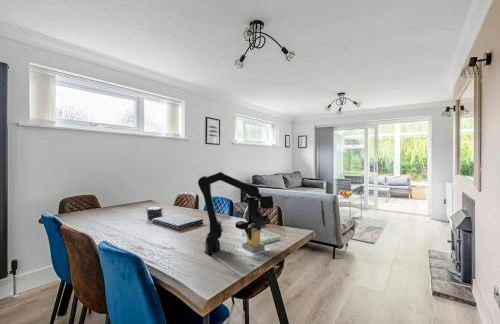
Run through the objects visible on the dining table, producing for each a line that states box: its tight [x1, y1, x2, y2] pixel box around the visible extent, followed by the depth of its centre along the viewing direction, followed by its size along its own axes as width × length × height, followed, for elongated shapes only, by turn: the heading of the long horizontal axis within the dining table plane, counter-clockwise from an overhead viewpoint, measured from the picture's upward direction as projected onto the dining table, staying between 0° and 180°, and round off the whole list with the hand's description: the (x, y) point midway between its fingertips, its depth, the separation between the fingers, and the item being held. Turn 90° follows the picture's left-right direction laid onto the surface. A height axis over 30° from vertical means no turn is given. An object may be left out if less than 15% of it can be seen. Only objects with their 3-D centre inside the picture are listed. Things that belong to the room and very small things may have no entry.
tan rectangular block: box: [246, 228, 261, 247], centre depth 130 cm, size 4×6×8 cm, turn 36°
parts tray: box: [241, 228, 282, 245], centre depth 150 cm, size 13×20×3 cm, turn 36°
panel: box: [236, 241, 272, 257], centre depth 130 cm, size 14×12×4 cm
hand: (253, 239), depth 130 cm, fingers closed on tan rectangular block, 4 cm apart
